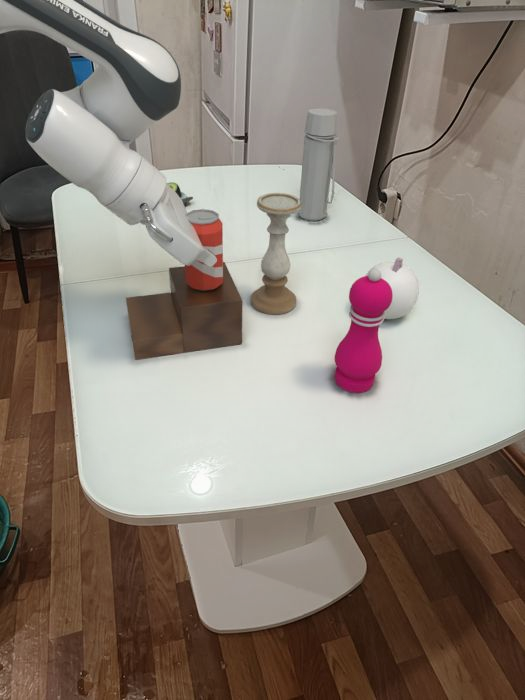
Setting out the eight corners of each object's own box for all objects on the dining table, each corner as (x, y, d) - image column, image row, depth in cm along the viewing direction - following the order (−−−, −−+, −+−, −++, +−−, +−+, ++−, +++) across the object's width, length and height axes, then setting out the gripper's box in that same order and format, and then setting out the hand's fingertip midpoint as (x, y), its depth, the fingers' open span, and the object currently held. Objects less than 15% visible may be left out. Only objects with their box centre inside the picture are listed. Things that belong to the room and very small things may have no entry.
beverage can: (228, 289, 84) (228, 221, 77) (190, 295, 82) (186, 226, 75) (217, 272, 89) (216, 206, 81) (181, 277, 87) (177, 210, 79)
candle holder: (262, 319, 94) (267, 214, 81) (243, 295, 100) (245, 194, 87) (304, 309, 97) (315, 206, 84) (283, 286, 103) (290, 188, 90)
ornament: (409, 334, 92) (425, 276, 84) (353, 323, 94) (363, 265, 86) (413, 304, 100) (428, 249, 92) (361, 294, 102) (371, 239, 94)
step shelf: (135, 360, 83) (128, 314, 78) (128, 316, 93) (121, 272, 87) (242, 344, 88) (242, 300, 82) (224, 303, 97) (224, 261, 92)
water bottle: (291, 216, 130) (299, 111, 115) (309, 208, 135) (319, 105, 119) (320, 227, 125) (332, 119, 110) (338, 218, 130) (352, 113, 115)
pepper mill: (356, 402, 77) (380, 289, 65) (321, 377, 82) (337, 267, 69) (386, 382, 81) (413, 272, 69) (351, 359, 85) (371, 251, 73)
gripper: (162, 204, 65) (236, 264, 73) (144, 155, 80) (207, 209, 89) (130, 240, 66) (207, 295, 75) (118, 185, 82) (183, 235, 90)
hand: (207, 248), depth 82 cm, fingers open, 8 cm apart
